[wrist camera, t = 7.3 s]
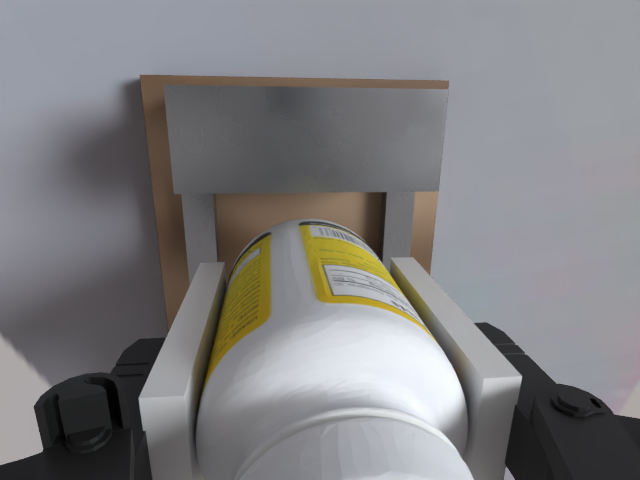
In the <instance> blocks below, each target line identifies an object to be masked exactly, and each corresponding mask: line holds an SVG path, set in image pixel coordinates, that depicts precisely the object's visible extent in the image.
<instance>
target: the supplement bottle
mask: <svg viewBox="0 0 640 480" xmlns="http://www.w3.org/2000/svg"><path fill="white" fill-rule="evenodd" d="M467 436H468V415H467V406H466V401H465V397H464V393H463V390H462V387H461V385H460V382H459V380H458V377H457V375H456V373H455V371H454V369H453V367H452V365H451V363H450V362H449V360H448V358H447V357H446V355H445V353H444V351H443V350H442V349H441V347H440V346H439V344H438V343H437V341H436V340H435V339H434V337H433V336H432V334H431V333H430V331H429V330H428V329H427V327H426V326H425V324H424V323H423V322H422V320H421V319H420V317H419V316H418V314H417V313H416V311H415V310H414V308H413V307H412V306H411V304H410V303H409V301H408V300H407V298H406V297H405V295H404V294H403V293H402V291H401V290H400V288H399V287H398V285H397V284H396V282H395V281H394V280H393V278H392V277H391V275H390V274H389V272H388V271H387V270H386V268H385V267H384V265H383V264H382V262H381V261H380V260H379V258H378V257H377V255H376V254H375V252H374V251H373V250H372V249H371V247H370V246H369V245H368V244H367V243H366V242H365V241H364V240H363V239H362V238H361V237H359V236H358V235H357V234H355V233H354V232H353V231H351V230H349V229H348V228H346V227H343V226H341V225H339V224H336V223H333V222H331V221H326V220H321V219H296V220H291V221H286V222H283V223H280V224H278V225H275V226H273V227H271V228H269V229H267V230H265V231H264V232H262V233H261V234H259V235H258V236H256V237H255V238H254V239H253V240H252V241H251V242H250V243H249V244H248V245H247V246H246V247H245V248H244V249H243V251H242V252H241V253H240V255H239V256H238V258H237V260H236V262H235V263H234V266H233V268H232V271H231V274H230V276H229V280H228V283H227V287H226V291H225V295H224V300H223V306H222V310H221V314H220V319H219V323H218V327H217V332H216V336H215V340H214V345H213V349H212V353H211V357H210V362H209V366H208V370H207V374H206V378H205V382H204V387H203V391H202V395H201V399H200V405H199V412H198V417H197V426H196V451H197V459H198V464H199V468H200V472H201V474H202V477H203V479H204V480H474V478H473V476H472V474H471V472H470V470H469V468H468V466H467V465H466V463H465V462H464V461H463V459H462V458H463V454H464V451H465V447H466V442H467Z"/></svg>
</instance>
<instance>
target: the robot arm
mask: <svg viewBox="0 0 640 480" xmlns="http://www.w3.org/2000/svg"><path fill="white" fill-rule="evenodd" d="M390 275H391V277H392V278H393V280H394V281H395V282H396V284H397V285H398V287H399V288H400V290H401V291H402V293H403V294H404V295H405V297H406V298H407V300H408V301H409V303H410V304H411V306H412V307H413V308H414V310H415V311H416V313H417V314H418V316H419V317H420V319H421V320H422V322H423V323H424V324H425V326H426V327H427V329H428V330H429V331H430V333H431V334H432V336H433V337H434V339H435V340H436V341H437V343H438V344H439V346H440V347H441V349H442V350H443V351H444V353H445V355H446V357H447V358H448V360H449V362H450V363H451V365H452V367H453V369H454V371H455V373H456V375H457V377H458V380H459V382H460V385H461V387H462V390H463V393H464V397H465V401H466V406H467V415H468V436H467V442H466V447H465V451H464V454H463V458H462V459H463V461H464V462H465V463H466V465H467V466H468V468H469V470H470V472H471V474H472V476H473V478H474V480H503V479H504V474H505V468H506V466H507V468H508V469H509V471H510V472H511V474H512V475H513V477H514V479H515V480H640V419H638V418H632V417H625V416H619V415H614V414H613V412H612V411H611V409H610V408H609V407H608V406H607V405H606V404H605V403H604V402H603V401H602V400H600V399H598V398H597V397H595V396H594V395H592V394H590V393H589V392H586V391H584V390H581V389H579V388H576V387H573V386H568V385H563V384H556V383H555V382H554V381H553V380H552V379H551V378H550V377H549V376H548V375H547V374H546V373H545V372H544V371H543V370H542V369H541V368H540V367H539V366H538V365H537V364H536V363H535V362H534V361H533V360H532V359H531V358H530V357H529V356H528V355H525V352H524V351H523V350H522V349H521V348H520V347H519V346H518V345H515V343H514V342H513V341H512V340H511V339H510V338H509V337H508V336H507V335H506V334H505V333H504V332H503V331H501V330H499V329H497V328H496V327H494V326H492V325H490V324H488V323H473V322H472V321H471V320H470V319H469V318H468V317H467V315H466V314H465V313H464V312H463V311H462V310H461V309H460V308H459V307H458V306H457V305H456V304H455V302H454V301H453V300H452V299H451V298H450V297H449V296H448V295H447V294H446V293H445V292H444V290H443V289H442V288H441V287H440V286H439V285H438V284H437V283H436V282H435V281H434V280H433V278H432V277H431V276H430V275H429V274H428V273H427V272H426V271H425V270H424V269H423V268H422V267H421V265H420V264H419V263H418V262H417V261H416V260H415V259H414V258H413V257H400V258H391V262H390ZM225 291H226V273H225V262H206V263H200V265H199V267H198V269H197V272H196V274H195V276H194V278H193V280H192V282H191V285H190V287H189V289H188V291H187V293H186V296H185V298H184V300H183V302H182V304H181V306H180V309H179V311H178V313H177V315H176V317H175V320H174V322H173V324H172V326H171V328H170V331H169V333H168V335H167V337H166V338H151V339H139V340H137V341H136V342H135V343H134V344H132V345H131V346H130V347H128V348H127V349H126V350H124V352H123V353H122V355H121V356H120V358H119V360H118V361H117V363H116V367H114V368H113V370H112V371H111V373H110V374H108V373H102V372H101V373H90V374H84V375H80V376H77V377H73V378H70V379H67V380H65V381H63V382H61V383H59V384H57V385H55V386H53V387H52V388H51V389H49V390H48V391H47V392H45V393H44V394H43V395H42V396H41V397H40V398H39V400H38V401H37V402H36V404H35V405H34V410H35V413H36V418H37V422H38V427H39V432H40V436H41V440H42V445H43V452H41V453H39V454H36V455H33V456H30V457H27V458H24V459H21V460H18V461H14V462H10V463H7V464H3V465H0V480H203V477H202V474H201V472H200V468H199V464H198V459H197V451H196V426H197V417H198V412H199V405H200V399H201V395H202V391H203V387H204V382H205V378H206V374H207V370H208V366H209V362H210V357H211V353H212V349H213V345H214V340H215V336H216V332H217V327H218V323H219V319H220V314H221V310H222V306H223V300H224V295H225Z"/></svg>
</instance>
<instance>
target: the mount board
mask: <svg viewBox="0 0 640 480" xmlns="http://www.w3.org/2000/svg"><path fill="white" fill-rule="evenodd" d="M140 83H141V92H142V101H143V110H144V119H145V128H146V137H147V146H148V155H149V164H150V173H151V182H152V191H153V200H154V209H155V218H156V227H157V236H158V245H159V254H160V263H161V272H162V281H163V290H164V300H165V309H166V318H167V327H168V333H169V331H170V328H171V326H172V324H173V322H174V320H175V317H176V315H177V313H178V311H179V309H180V306H181V304H182V302H183V300H184V298H185V296H186V293H187V291H188V289H189V287H190V285H189V273H188V262H187V251H186V240H185V229H184V218H183V207H182V196H181V194H174V189H173V179H172V168H171V158H170V147H169V137H168V126H167V116H166V105H165V95H164V85H221V86H281V87H340V88H400V89H448V87H449V81H436V80H384V79H331V78H278V77H226V76H173V75H140ZM437 198H438V192H415V201H414V213H413V226H412V238H411V250H410V257H413V258H414V259H415V260H416V261H417V262H418V263H419V264H420V265H421V267H422V268H423V269H424V270H425V271H426V272H427V273H428V274H429V275H430V268H431V258H432V248H433V238H434V228H435V218H436V208H437ZM381 199H382V192H336V193H228V194H216V207H217V223H218V238H219V254H220V262H225V273H226V287H227V283H228V280H229V276H230V274H231V271H232V268H233V266H234V263H235V262H236V260H237V258H238V256H239V255H240V253H241V252H242V251H243V249H244V248H245V247H246V246H247V245H248V244H249V243H250V242H251V241H252V240H253V239H254V238H255V237H256V236H258V235H259V234H261V233H262V232H264V231H265V230H267V229H269V228H271V227H273V226H275V225H278V224H280V223H283V222H286V221H291V220H296V219H321V220H326V221H331V222H333V223H336V224H339V225H341V226H343V227H346V228H348V229H349V230H351V231H353V232H354V233H355V234H357V235H358V236H359V237H361V238H362V239H363V240H364V241H365V242H366V243H367V244H368V245H369V246H370V247H371V249H372V250H373V251H374V252H375V254H376V255H377V257H378V251H379V234H380V216H381Z"/></svg>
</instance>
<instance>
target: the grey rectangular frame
mask: <svg viewBox="0 0 640 480" xmlns="http://www.w3.org/2000/svg"><path fill="white" fill-rule="evenodd" d="M448 93H449V89H400V88H340V87H281V86H221V85H164V95H165V105H166V116H167V126H168V137H169V147H170V158H171V168H172V179H173V189H174V194H181V196H182V207H183V218H184V229H185V240H186V251H187V262H188V273H189V285H191V282H192V280H193V278H194V276H195V274H196V272H197V269H198V267H199V265H200V263H206V262H220V254H219V238H218V223H217V207H216V194H228V193H336V192H382V199H381V216H380V234H379V251H378V258H379V260H380V261H381V262H382V264H383V265H384V267H385V268H386V270H387V271H388V272H389V274H390V262H391V258H400V257H410V250H411V238H412V226H413V213H414V201H415V192H439V183H440V173H441V163H442V153H443V143H444V133H445V123H446V113H447V103H448Z"/></svg>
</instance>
